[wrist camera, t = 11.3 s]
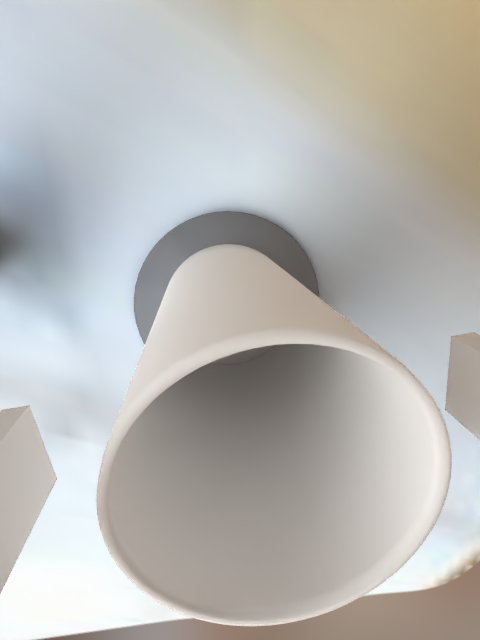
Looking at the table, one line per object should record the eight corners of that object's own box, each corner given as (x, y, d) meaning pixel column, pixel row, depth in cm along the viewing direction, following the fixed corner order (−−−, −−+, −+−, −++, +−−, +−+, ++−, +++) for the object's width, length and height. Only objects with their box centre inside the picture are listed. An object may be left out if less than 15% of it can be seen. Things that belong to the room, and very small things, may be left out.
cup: (309, 266, 23) (519, 388, 8) (266, 378, 25) (366, 641, 10) (184, 225, 21) (147, 279, 6) (150, 348, 24) (61, 608, 8)
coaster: (116, 225, 22) (113, 226, 21) (310, 199, 22) (313, 199, 22) (155, 398, 25) (154, 403, 25) (320, 372, 26) (323, 375, 26)
